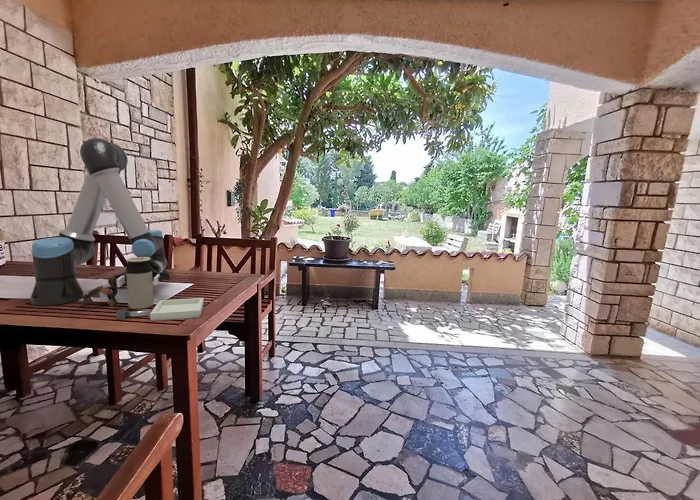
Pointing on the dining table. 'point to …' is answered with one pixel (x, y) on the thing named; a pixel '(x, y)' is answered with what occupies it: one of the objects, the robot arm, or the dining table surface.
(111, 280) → the olive green oval lump
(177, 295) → the dining table surface
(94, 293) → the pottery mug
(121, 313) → the metal bolt
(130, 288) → the travel mug
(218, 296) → the dining table surface
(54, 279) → the robot arm
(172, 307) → the tray
